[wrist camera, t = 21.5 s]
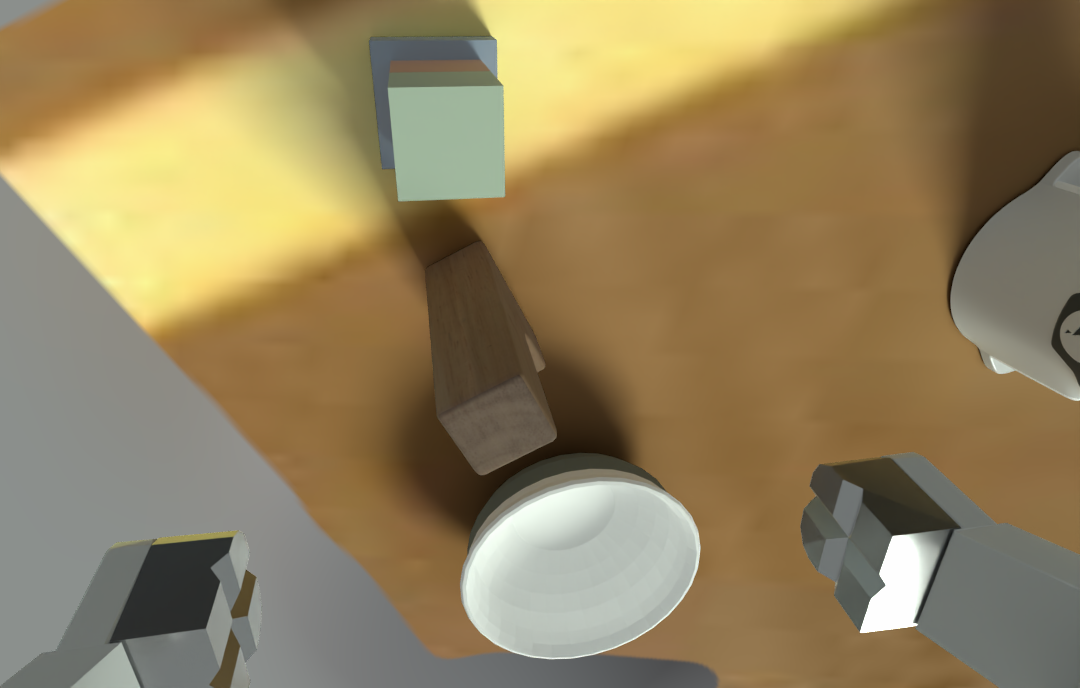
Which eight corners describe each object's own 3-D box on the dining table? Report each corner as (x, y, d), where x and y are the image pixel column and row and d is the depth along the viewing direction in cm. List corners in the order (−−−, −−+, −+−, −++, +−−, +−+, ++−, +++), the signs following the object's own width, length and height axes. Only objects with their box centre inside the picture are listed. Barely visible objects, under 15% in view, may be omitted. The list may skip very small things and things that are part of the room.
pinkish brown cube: (480, 59, 39) (490, 71, 35) (483, 149, 41) (492, 170, 37) (390, 60, 38) (389, 72, 34) (398, 151, 41) (398, 173, 36)
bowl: (638, 381, 55) (674, 443, 47) (685, 539, 64) (721, 610, 57) (417, 464, 55) (420, 538, 47) (496, 609, 64) (508, 689, 57)
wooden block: (537, 338, 51) (597, 500, 35) (483, 365, 51) (519, 538, 36) (480, 236, 47) (521, 371, 31) (422, 267, 47) (433, 416, 31)
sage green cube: (490, 71, 35) (503, 85, 30) (493, 170, 37) (505, 196, 33) (389, 72, 34) (387, 87, 30) (398, 173, 36) (398, 201, 32)
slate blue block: (491, 36, 41) (496, 39, 39) (494, 155, 44) (499, 165, 42) (370, 37, 40) (369, 40, 38) (383, 159, 43) (381, 168, 41)
